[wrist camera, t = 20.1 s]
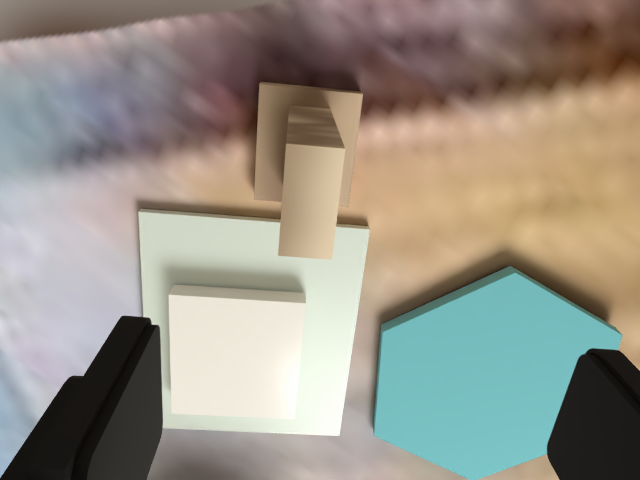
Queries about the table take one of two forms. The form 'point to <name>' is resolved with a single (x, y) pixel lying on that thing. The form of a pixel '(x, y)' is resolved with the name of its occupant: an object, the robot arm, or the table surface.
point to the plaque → (482, 372)
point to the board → (259, 274)
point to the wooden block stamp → (306, 161)
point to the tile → (235, 351)
